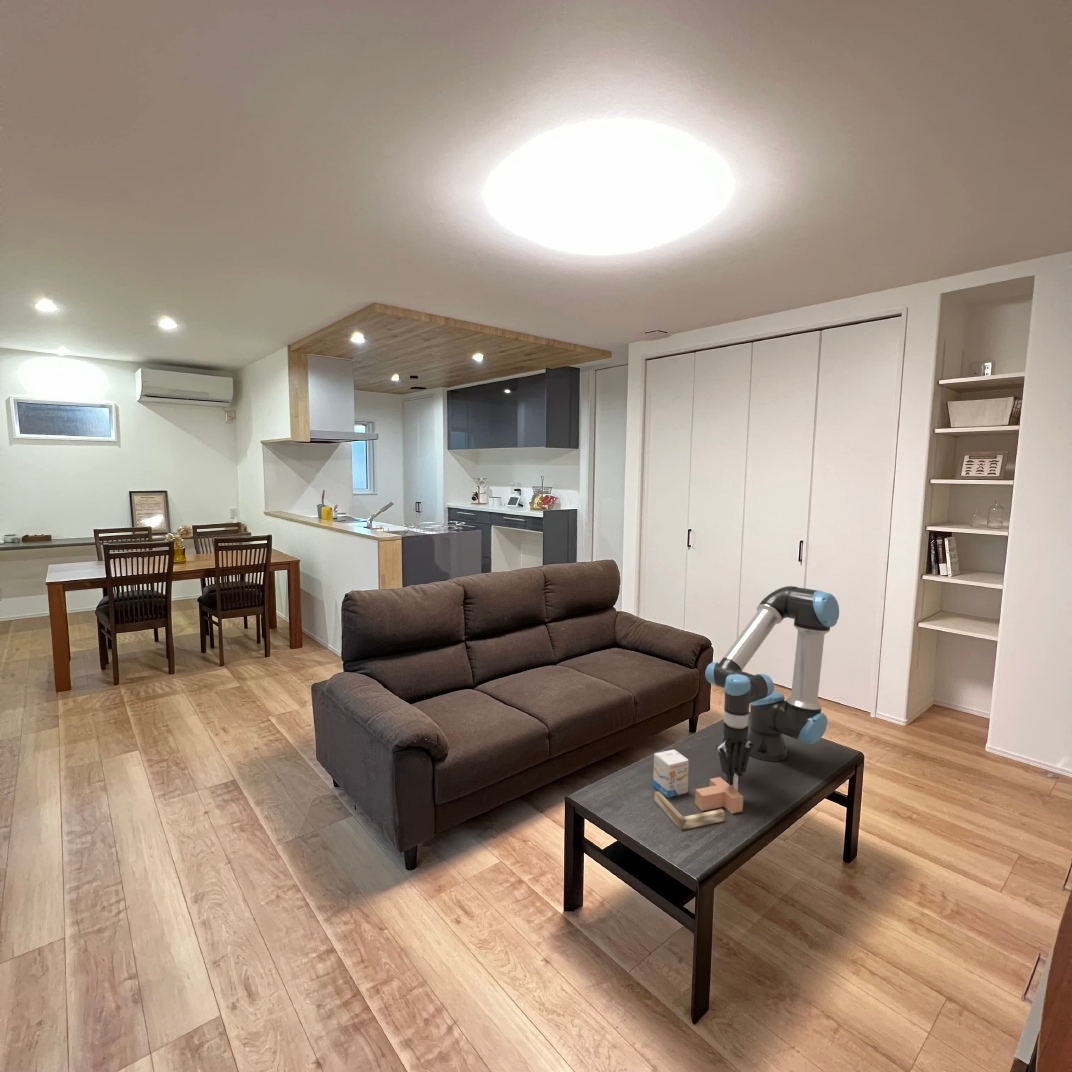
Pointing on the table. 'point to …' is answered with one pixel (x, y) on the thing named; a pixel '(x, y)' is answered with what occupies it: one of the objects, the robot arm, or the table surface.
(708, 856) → the table surface
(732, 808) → the t block
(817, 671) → the robot arm
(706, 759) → the table surface
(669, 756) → the ink box
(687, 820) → the corner fence
